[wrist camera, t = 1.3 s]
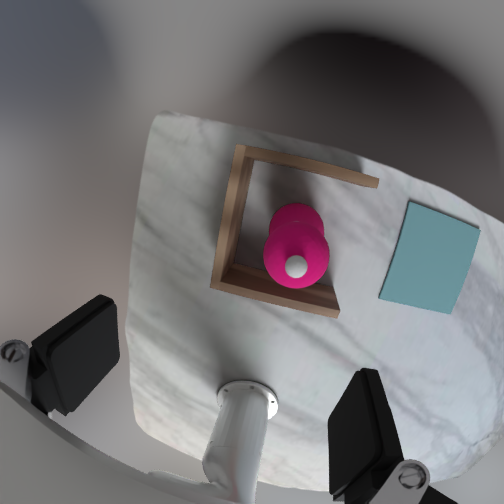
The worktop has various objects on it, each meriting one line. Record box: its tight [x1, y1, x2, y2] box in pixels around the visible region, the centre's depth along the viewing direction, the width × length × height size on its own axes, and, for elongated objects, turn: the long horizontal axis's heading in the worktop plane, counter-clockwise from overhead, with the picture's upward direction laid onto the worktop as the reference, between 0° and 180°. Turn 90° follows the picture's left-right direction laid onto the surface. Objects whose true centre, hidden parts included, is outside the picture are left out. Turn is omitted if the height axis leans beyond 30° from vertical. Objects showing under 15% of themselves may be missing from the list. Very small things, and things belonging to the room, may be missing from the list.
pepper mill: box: [263, 203, 329, 288], centre depth 30 cm, size 7×7×20 cm
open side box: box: [210, 144, 379, 318], centre depth 36 cm, size 18×17×8 cm
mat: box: [378, 202, 481, 314], centre depth 37 cm, size 16×16×1 cm
